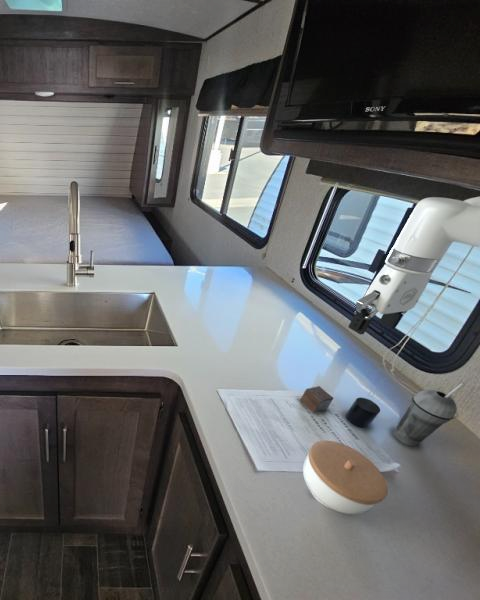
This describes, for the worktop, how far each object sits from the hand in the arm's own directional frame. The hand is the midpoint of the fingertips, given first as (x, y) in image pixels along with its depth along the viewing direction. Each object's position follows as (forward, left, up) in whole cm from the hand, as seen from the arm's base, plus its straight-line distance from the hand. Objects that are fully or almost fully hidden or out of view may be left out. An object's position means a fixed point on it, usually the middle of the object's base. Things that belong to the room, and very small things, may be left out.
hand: (371, 328), depth 75 cm
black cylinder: (-5, +6, -27) cm, 28 cm away
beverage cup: (-12, +13, -27) cm, 32 cm away
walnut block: (+2, -1, -27) cm, 27 cm away
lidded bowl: (+20, +19, -27) cm, 39 cm away
